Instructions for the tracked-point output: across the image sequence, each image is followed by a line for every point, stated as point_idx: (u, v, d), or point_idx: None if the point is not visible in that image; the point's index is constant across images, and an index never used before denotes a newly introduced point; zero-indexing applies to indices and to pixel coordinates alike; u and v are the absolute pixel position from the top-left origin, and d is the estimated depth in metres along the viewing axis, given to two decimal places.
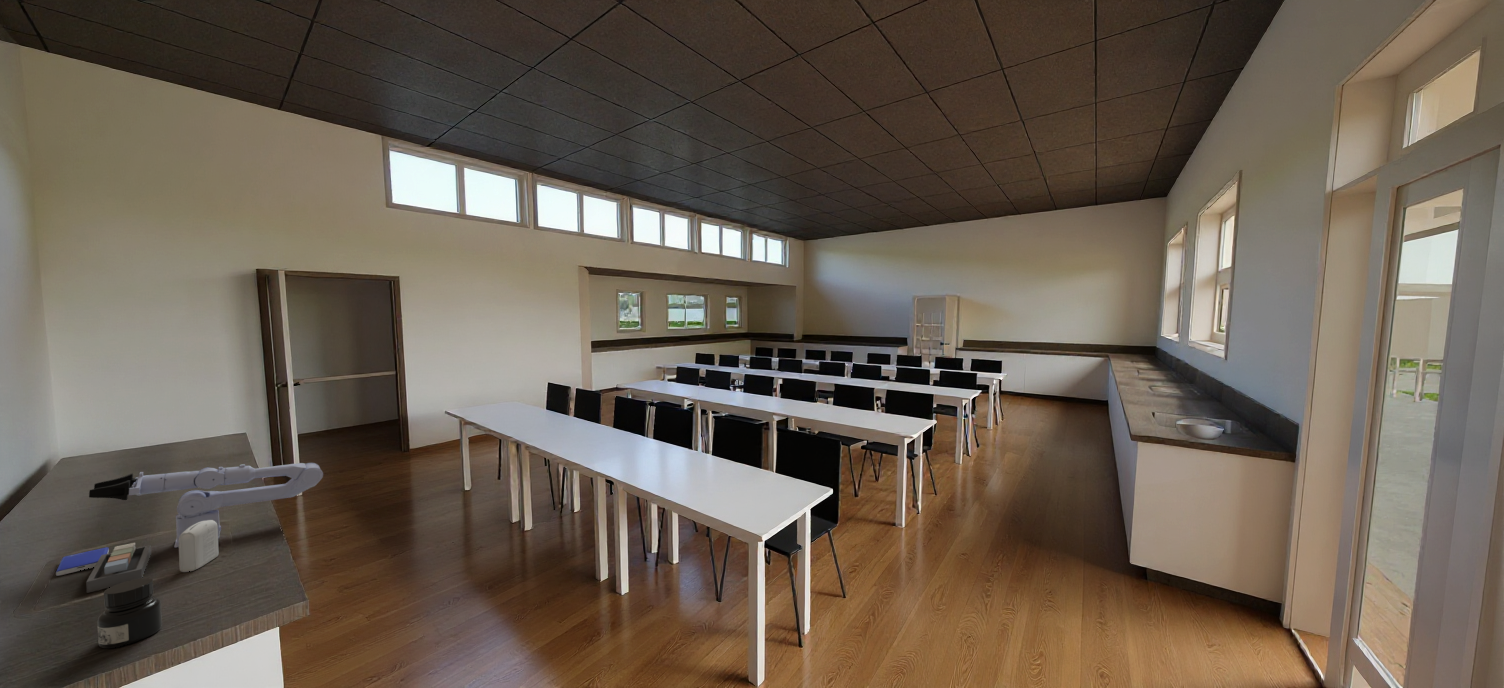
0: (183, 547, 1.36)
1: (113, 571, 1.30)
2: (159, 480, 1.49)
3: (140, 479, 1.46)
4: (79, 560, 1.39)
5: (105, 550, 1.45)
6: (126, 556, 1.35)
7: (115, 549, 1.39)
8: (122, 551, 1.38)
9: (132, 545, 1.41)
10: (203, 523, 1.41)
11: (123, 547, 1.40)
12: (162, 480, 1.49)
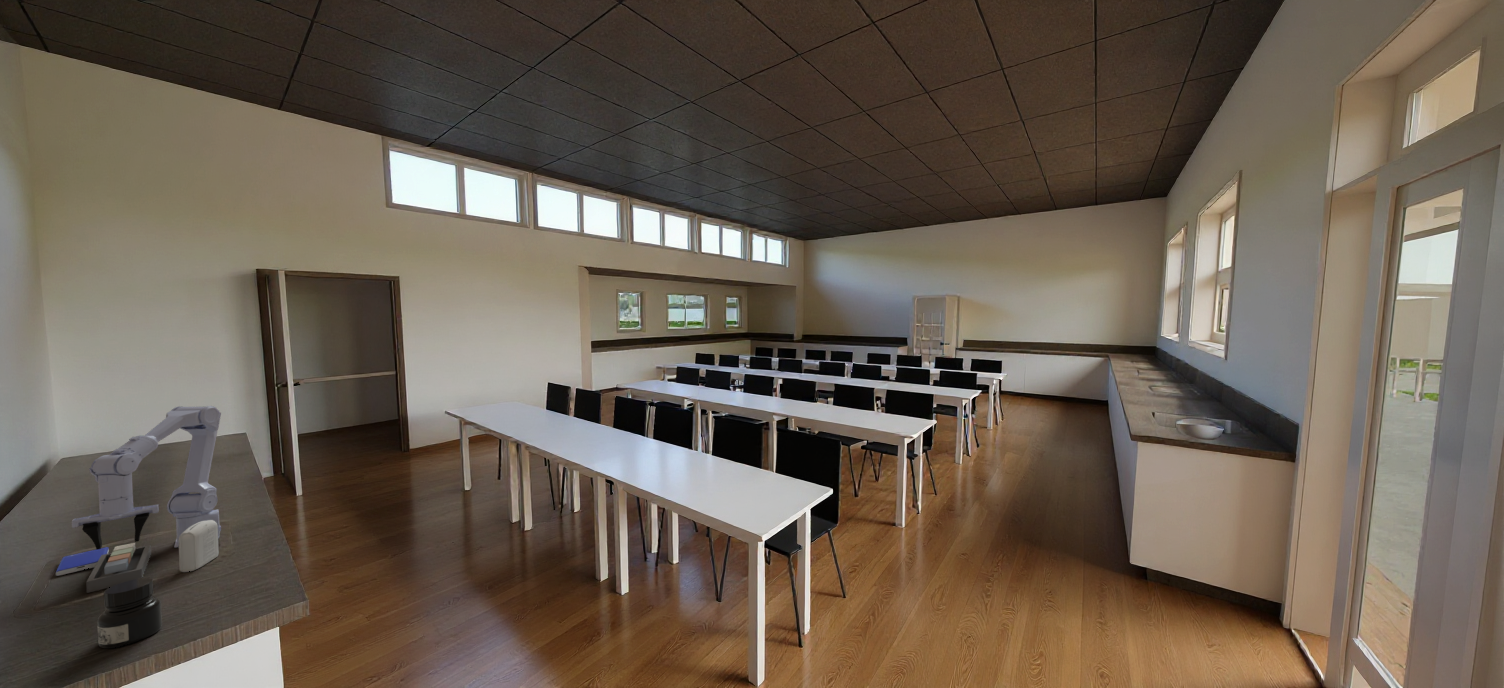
0: (183, 547, 1.36)
1: (113, 571, 1.30)
2: (127, 499, 1.34)
3: (129, 513, 1.34)
4: (79, 560, 1.39)
5: (105, 550, 1.45)
6: (126, 556, 1.35)
7: (115, 549, 1.39)
8: (122, 551, 1.38)
9: (132, 545, 1.41)
10: (203, 523, 1.41)
11: (123, 547, 1.40)
12: (130, 497, 1.35)
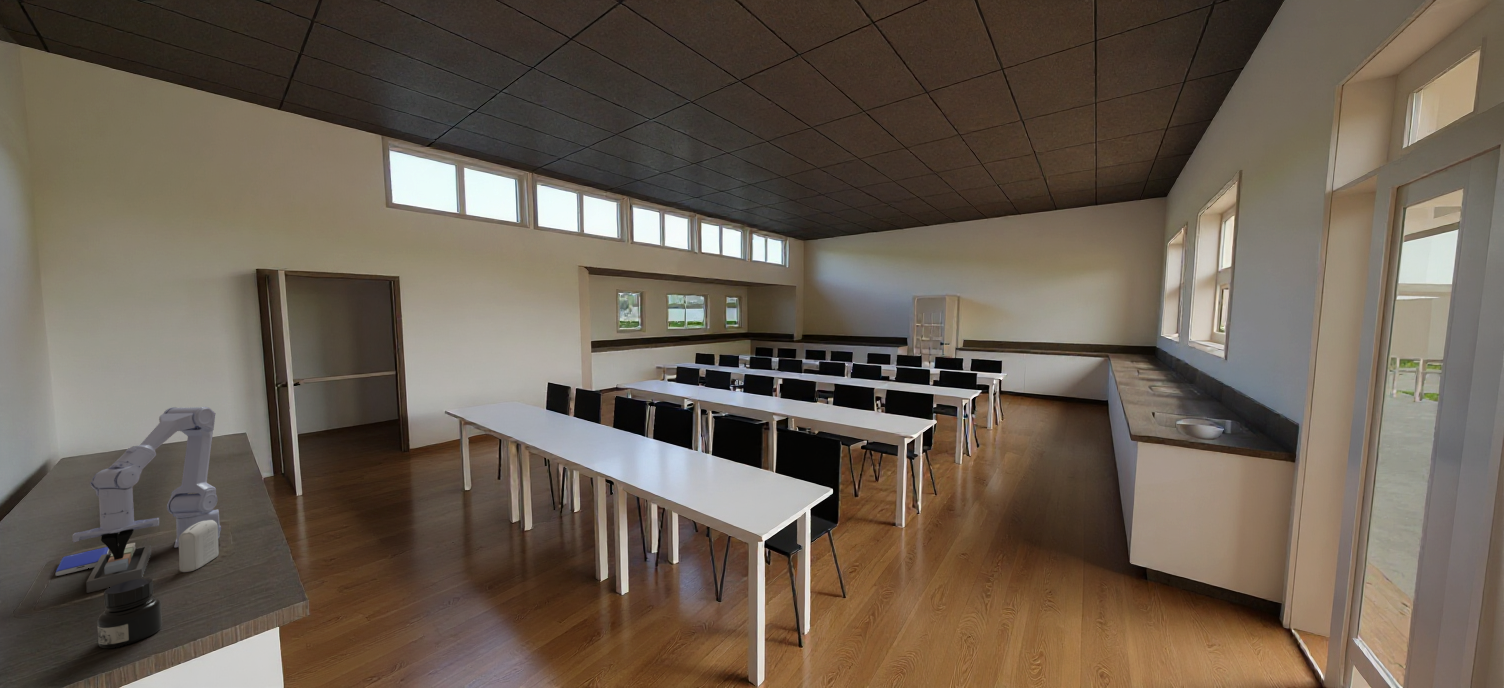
0: (183, 547, 1.36)
1: (113, 571, 1.30)
2: (128, 513, 1.34)
3: (130, 526, 1.34)
4: (79, 560, 1.39)
5: (105, 550, 1.45)
6: (126, 557, 1.35)
7: None
8: None
9: (132, 545, 1.41)
10: (203, 523, 1.41)
11: None
12: (130, 510, 1.35)
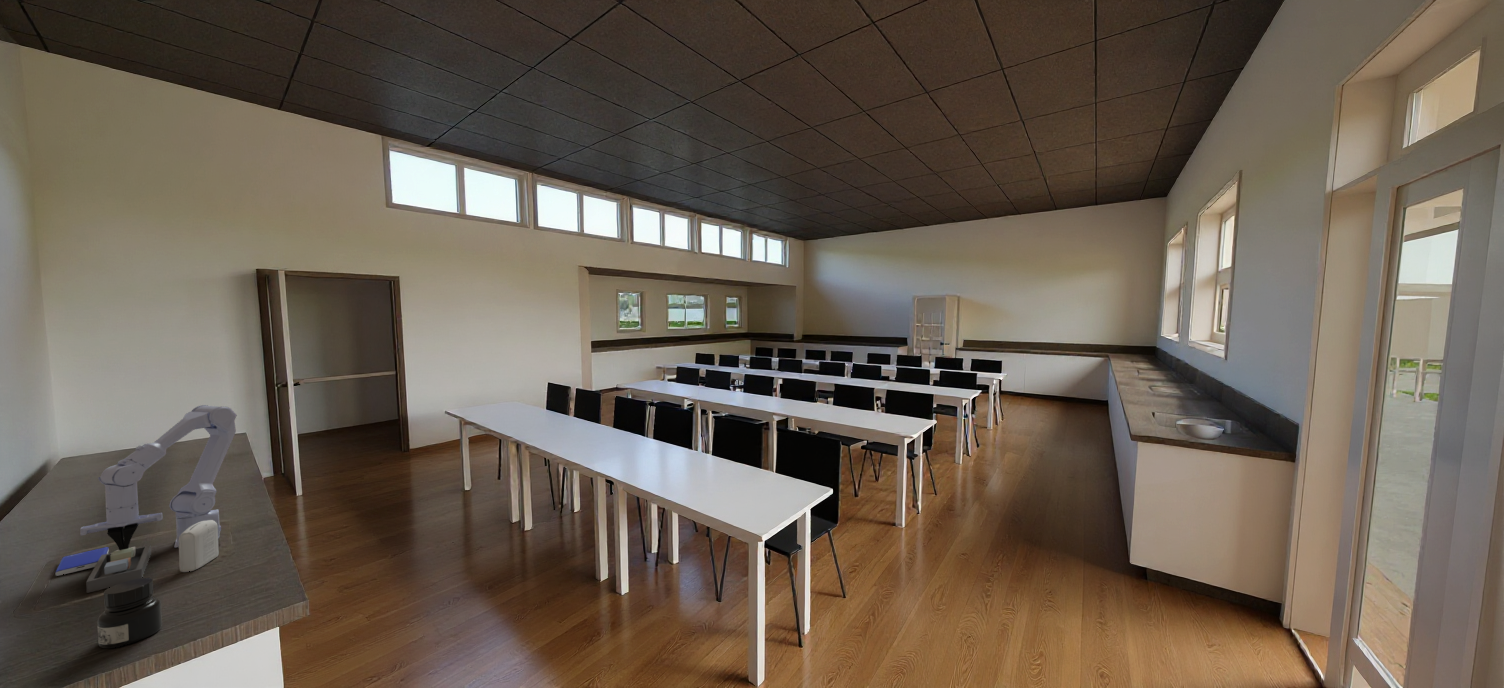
0: (183, 547, 1.36)
1: (113, 571, 1.30)
2: (133, 508, 1.41)
3: (135, 521, 1.40)
4: (79, 560, 1.39)
5: (105, 550, 1.45)
6: None
7: None
8: (122, 551, 1.38)
9: None
10: (203, 523, 1.41)
11: None
12: (135, 505, 1.41)
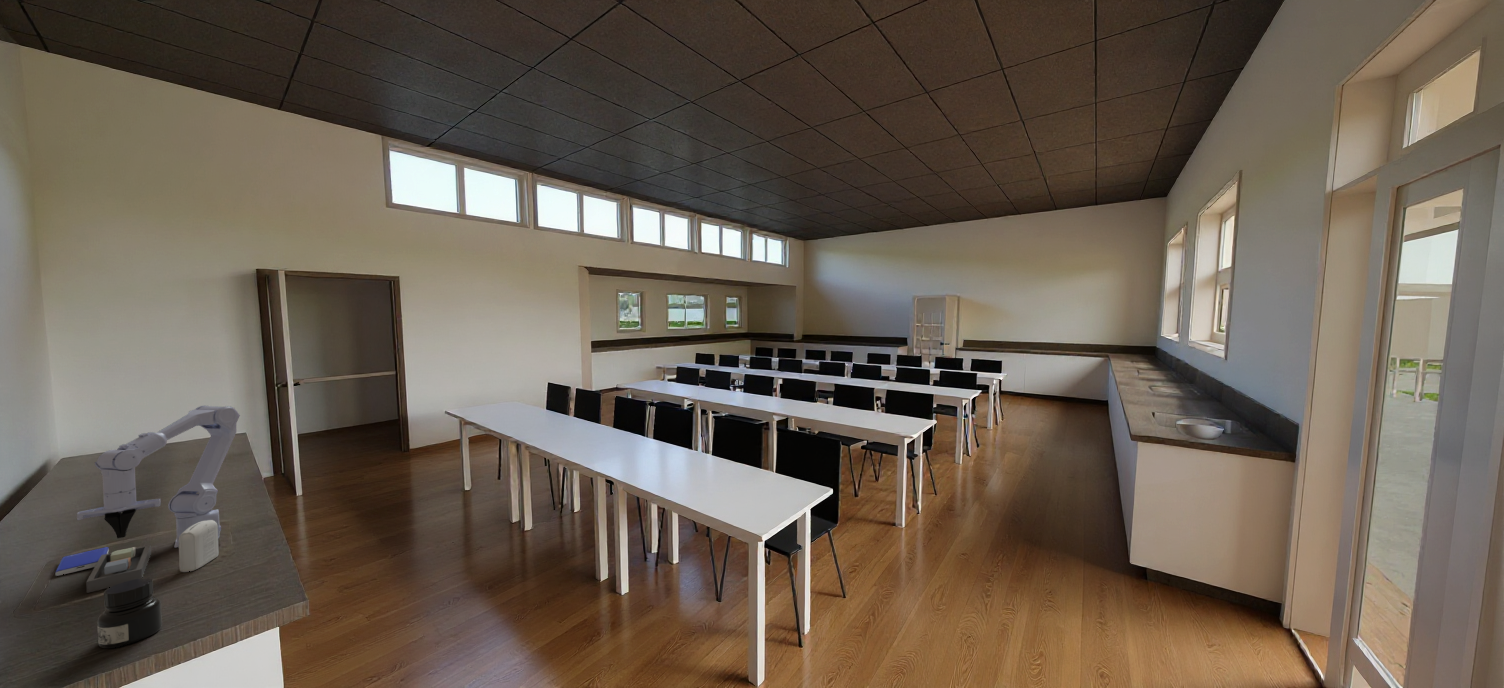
0: (183, 547, 1.36)
1: (113, 571, 1.30)
2: (131, 493, 1.39)
3: (132, 506, 1.38)
4: (79, 560, 1.39)
5: (105, 550, 1.45)
6: None
7: None
8: (122, 551, 1.38)
9: None
10: (203, 523, 1.41)
11: None
12: (133, 491, 1.39)
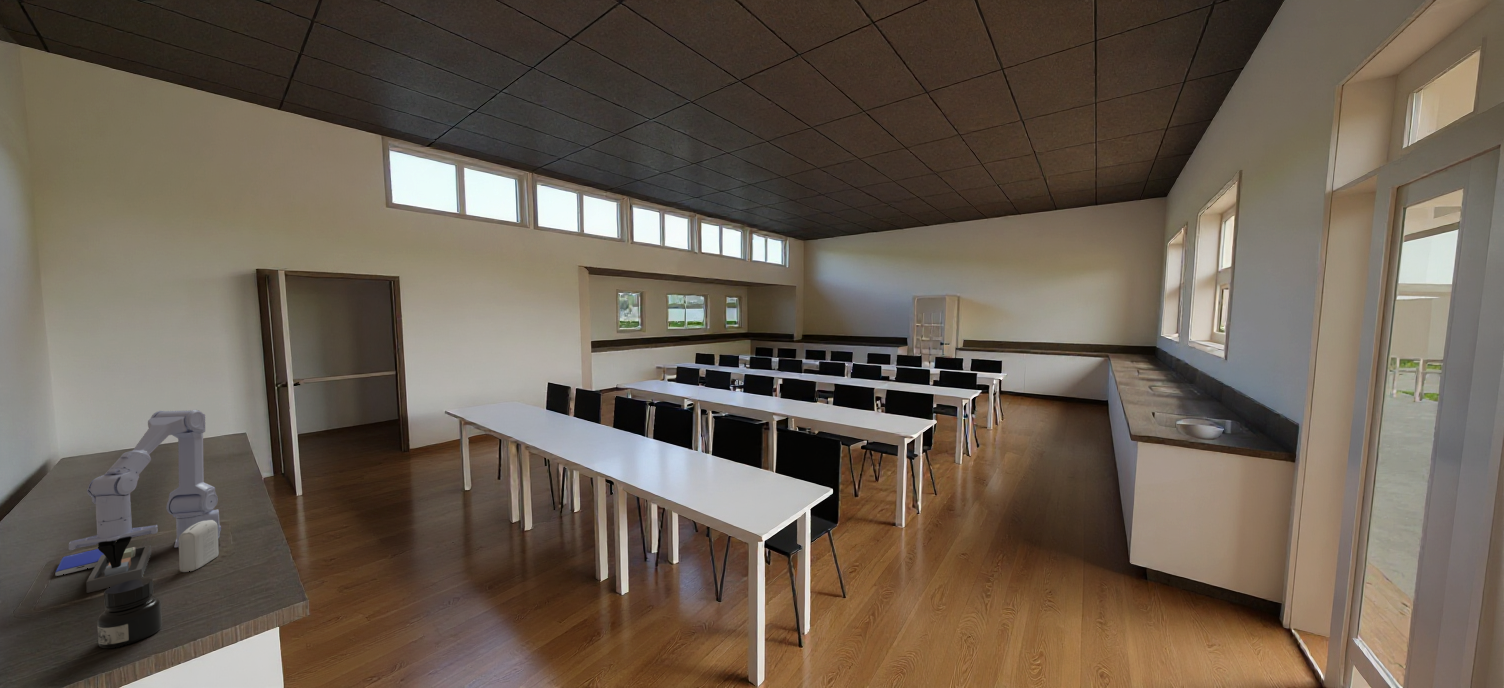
0: (183, 547, 1.36)
1: None
2: (126, 520, 1.31)
3: (128, 534, 1.31)
4: (79, 560, 1.39)
5: None
6: (126, 560, 1.35)
7: None
8: None
9: None
10: (203, 523, 1.41)
11: None
12: (128, 517, 1.32)
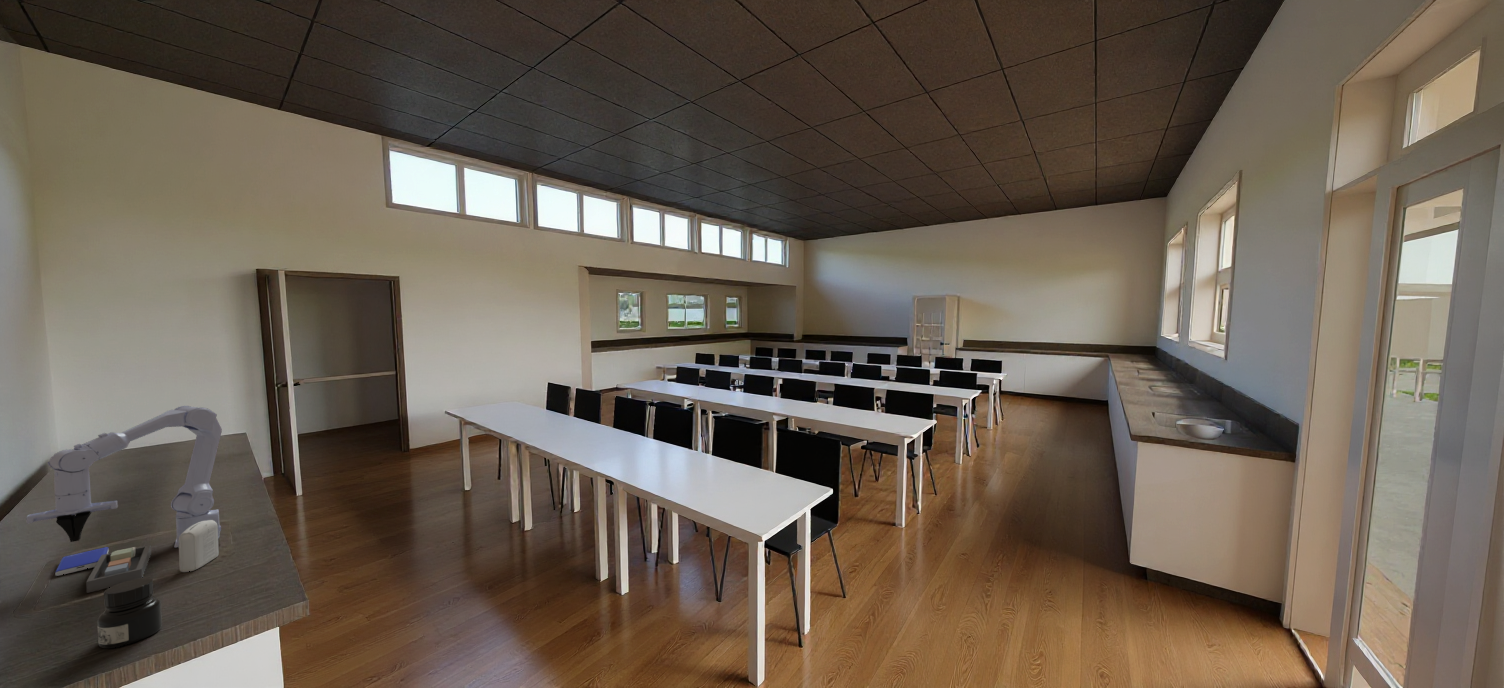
0: (183, 547, 1.36)
1: None
2: (85, 495, 1.33)
3: (86, 508, 1.33)
4: (79, 560, 1.39)
5: (105, 550, 1.45)
6: (126, 560, 1.35)
7: None
8: (122, 551, 1.38)
9: None
10: (203, 523, 1.41)
11: None
12: (87, 492, 1.34)
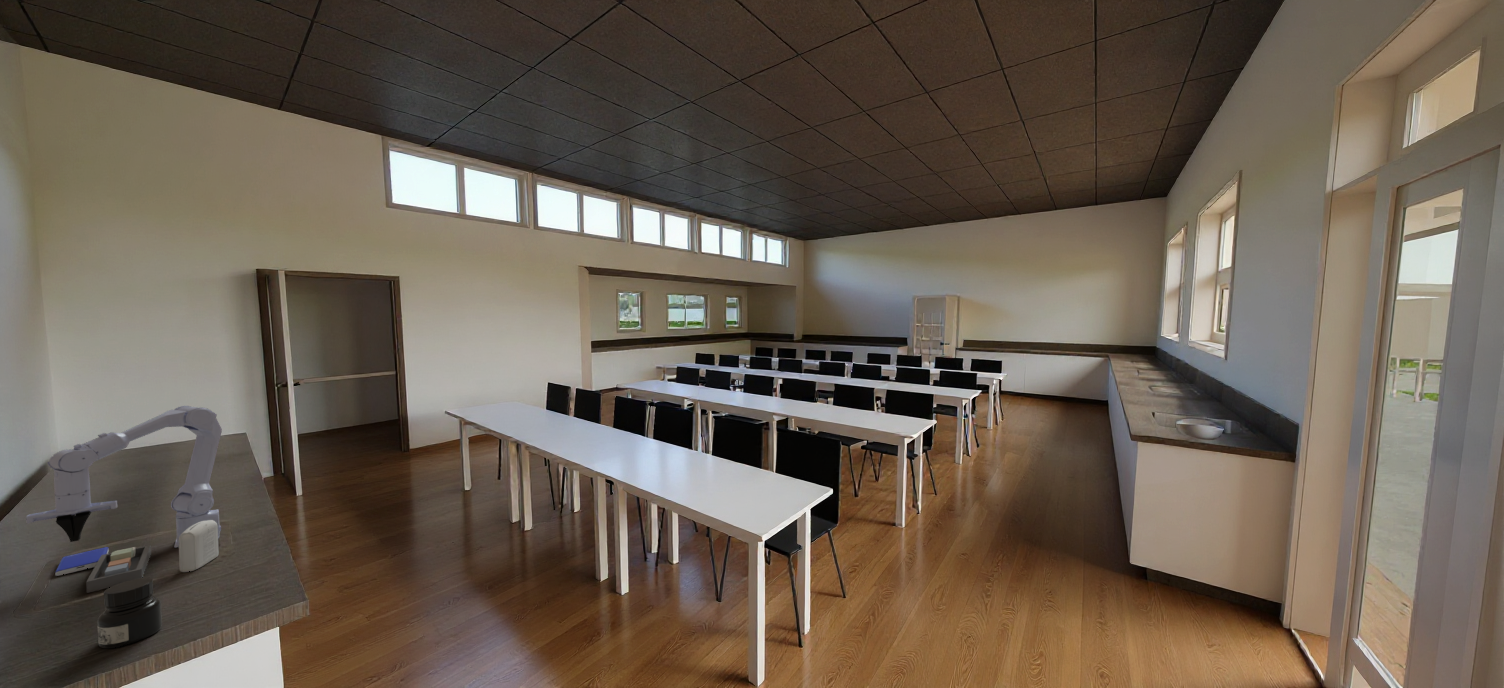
0: (183, 547, 1.36)
1: None
2: (84, 495, 1.33)
3: (86, 508, 1.33)
4: (79, 560, 1.39)
5: (105, 549, 1.45)
6: (126, 560, 1.35)
7: None
8: (122, 551, 1.38)
9: None
10: (203, 523, 1.41)
11: None
12: (87, 492, 1.34)
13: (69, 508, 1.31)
